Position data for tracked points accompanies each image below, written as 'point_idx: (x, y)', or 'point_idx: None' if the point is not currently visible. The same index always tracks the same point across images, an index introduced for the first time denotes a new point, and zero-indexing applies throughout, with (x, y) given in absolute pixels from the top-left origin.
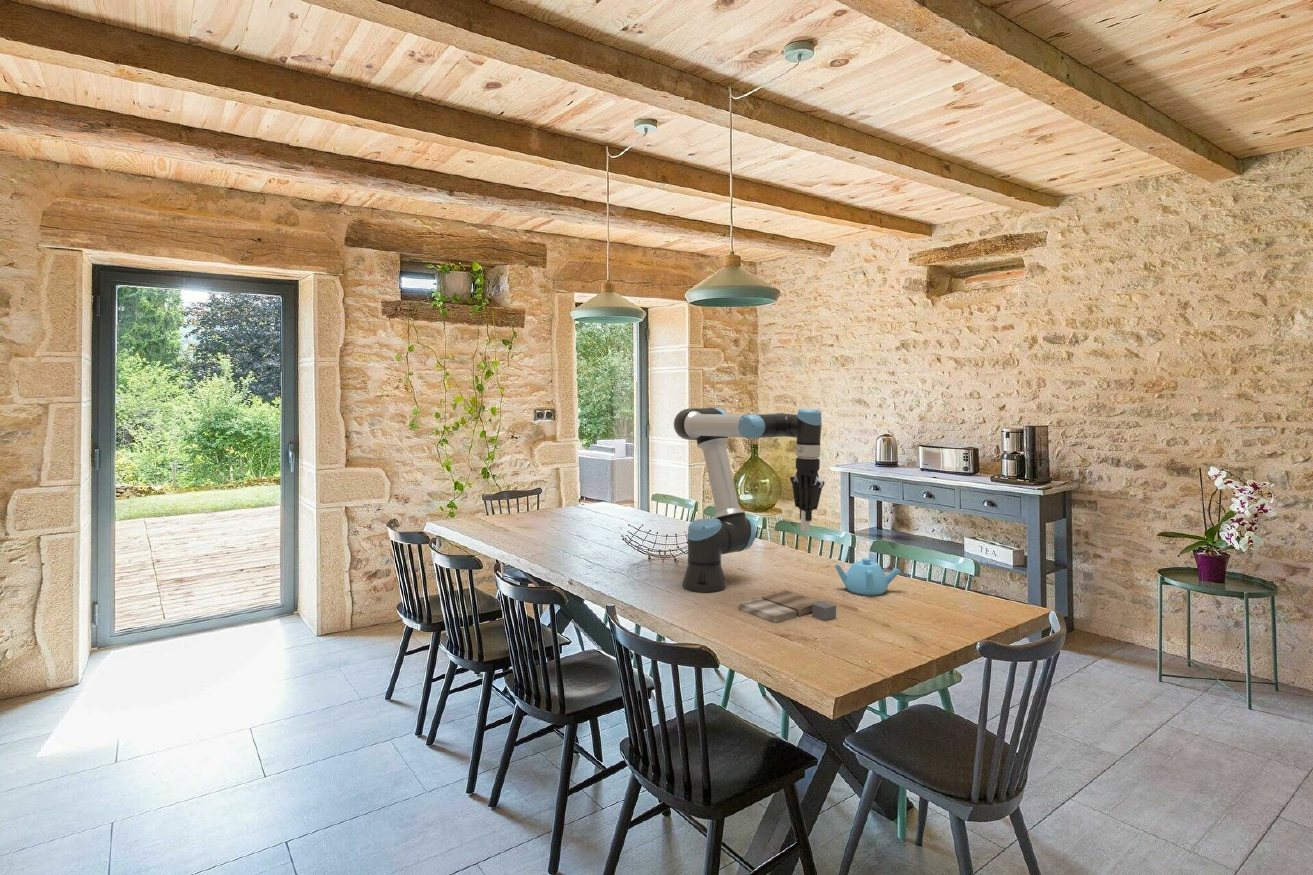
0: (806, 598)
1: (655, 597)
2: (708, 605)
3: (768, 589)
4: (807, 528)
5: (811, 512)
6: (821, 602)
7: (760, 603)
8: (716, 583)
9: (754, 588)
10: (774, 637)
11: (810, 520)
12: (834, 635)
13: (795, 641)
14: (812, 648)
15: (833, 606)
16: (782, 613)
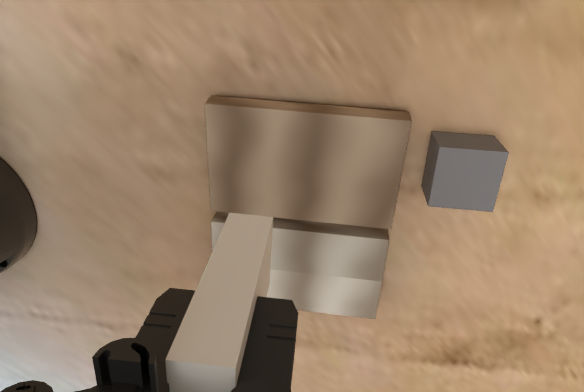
0: (341, 128)
1: (17, 359)
2: (144, 318)
3: (90, 49)
4: (268, 254)
5: (289, 383)
6: (441, 164)
7: None
8: (16, 229)
9: (54, 84)
10: (444, 378)
11: (292, 309)
12: (572, 273)
13: (503, 368)
14: (566, 376)
15: (503, 167)
16: (374, 287)
